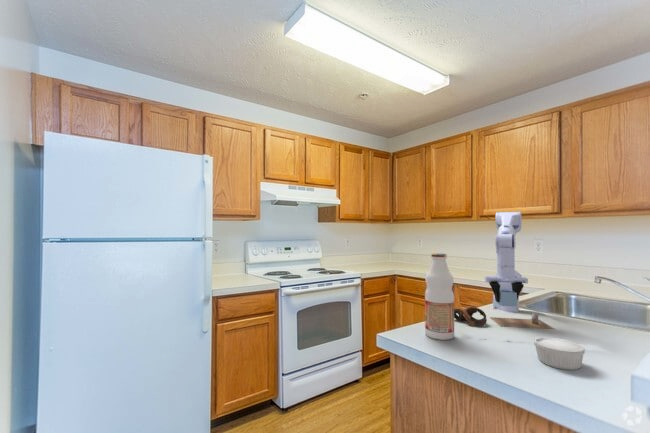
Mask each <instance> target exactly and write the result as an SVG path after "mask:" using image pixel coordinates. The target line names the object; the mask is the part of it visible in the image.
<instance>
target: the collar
mask: <svg viewBox="0 0 650 433" xmlns="http://www.w3.org/2000/svg"><path fill="white" fill-rule="evenodd" d="M499 295H500V302H497V301H496V303H498V304H499V305H501V306H516V307H517V293H516V292H514V291H512V290H500V293H499Z"/></svg>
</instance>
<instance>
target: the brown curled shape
mask: <svg viewBox="0 0 650 433" xmlns="http://www.w3.org/2000/svg"><path fill="white" fill-rule="evenodd" d="M476 313H479V315H481V317H483V318H481V319H479V318H475V317H473V315H474V314H476ZM454 320H457V322H461V321H463V320H466V321H467V322H468V326H469V327H473V328H474V327H476V328H481V327H484V326H485V325H486V324H487V321H488V320H487V315H486V313H485V312H484V311H483V310H482V309H481V308H479V307H476V306H468V307H466V308H465V309H463V310H462V309H461V308H454Z"/></svg>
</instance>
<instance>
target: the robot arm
mask: <svg viewBox="0 0 650 433" xmlns="http://www.w3.org/2000/svg"><path fill="white" fill-rule="evenodd" d="M495 226H496V230H497V235H495V238H494V240H495V241H494V244H495V253H496V276H495V275H493V276H488V275H487V276H486V275H485V276H484V282H485V283H489V284H488V285H489V286H490V288H491V290H492V292H493V295H492V300H493V301H492V304H493V305H492V306H493V307H492V308H493V310H499V311H502V312H509V313H519V312H520V294H521V293H522V292H523V289H524V287H525V286H524V284H528V283H529V278H527V277H523V275H522V274H521V273H520V272H519V271H517V270H516V269H515V265H516V264H515V257H516V256H515V251H516V250H515V249H516V245H517V244H516V234H517V233H520V232H521V230H522V212H521V211H500V212H499V211H496V213H495ZM500 290H512V291H514V292H516V293H517V307H516V306H501V305H499V304H498V303H496V301H497V302H500V295H499V293H500Z"/></svg>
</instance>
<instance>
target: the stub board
mask: <svg viewBox="0 0 650 433" xmlns="http://www.w3.org/2000/svg"><path fill="white" fill-rule="evenodd" d="M489 319H491V320H492V321H493V322H494V323H496V324H497V326H500V328H503V327H504V328H520V329H521V328H523V329H541V330H542V329H543V330H556V328H555V327H553V326H551V325H549V324H548V323H546V322H545V321H542V320H541V319H539V314H538V313H536V312H535V313H534V312H533V313H531V318H515V317H514V318H513V317H511V318H510V317H509V318H508V317H496V316H494V317H493V316H491V317H489Z"/></svg>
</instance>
